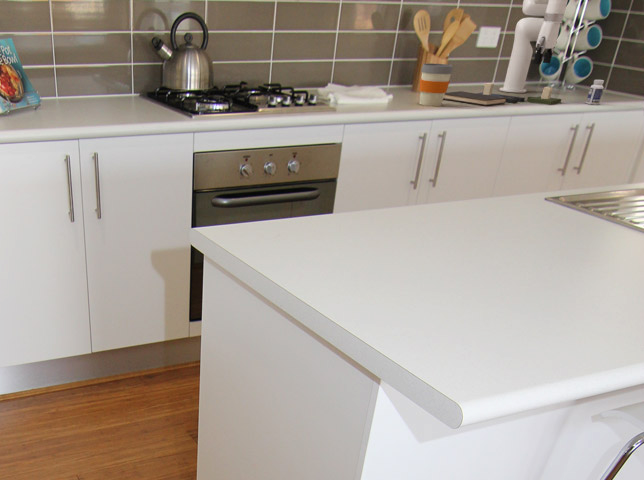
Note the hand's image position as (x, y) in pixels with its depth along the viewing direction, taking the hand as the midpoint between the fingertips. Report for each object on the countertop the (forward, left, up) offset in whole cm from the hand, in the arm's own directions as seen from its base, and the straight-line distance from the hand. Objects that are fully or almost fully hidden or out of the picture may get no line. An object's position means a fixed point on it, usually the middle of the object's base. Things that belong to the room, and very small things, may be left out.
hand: (541, 63), depth 321 cm
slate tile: (+9, -16, -15) cm, 24 cm away
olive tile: (-3, +4, -15) cm, 16 cm away
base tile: (+9, -7, -15) cm, 19 cm away
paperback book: (+28, -16, -15) cm, 35 cm away
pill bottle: (-19, +20, -16) cm, 32 cm away
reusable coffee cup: (+54, -22, -16) cm, 60 cm away
